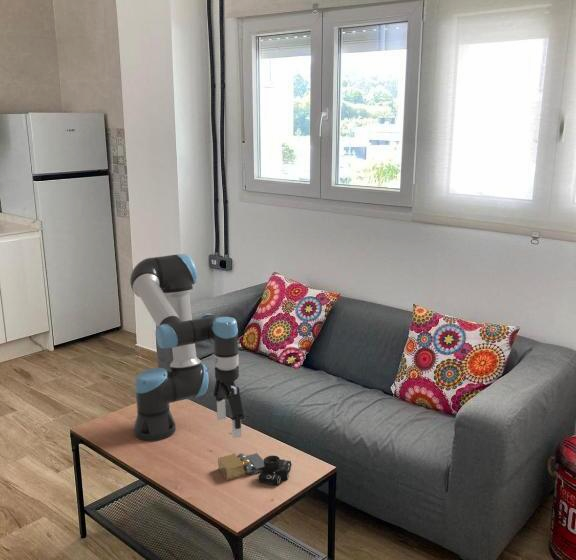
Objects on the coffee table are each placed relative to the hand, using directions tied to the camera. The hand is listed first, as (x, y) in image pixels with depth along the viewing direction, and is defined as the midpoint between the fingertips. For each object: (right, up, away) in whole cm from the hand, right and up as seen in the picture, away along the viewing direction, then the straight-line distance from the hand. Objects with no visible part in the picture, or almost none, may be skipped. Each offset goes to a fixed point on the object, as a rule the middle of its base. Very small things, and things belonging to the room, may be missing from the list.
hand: (229, 427), depth 207 cm
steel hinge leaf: (+7, -14, +7) cm, 18 cm away
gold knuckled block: (+2, -15, +5) cm, 16 cm away
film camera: (+15, -16, +2) cm, 22 cm away
